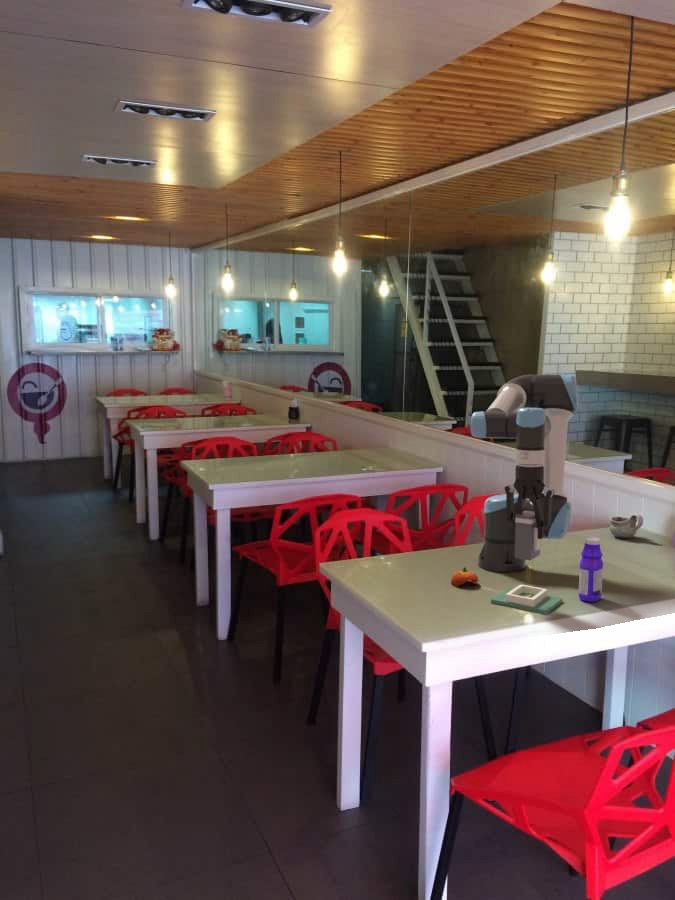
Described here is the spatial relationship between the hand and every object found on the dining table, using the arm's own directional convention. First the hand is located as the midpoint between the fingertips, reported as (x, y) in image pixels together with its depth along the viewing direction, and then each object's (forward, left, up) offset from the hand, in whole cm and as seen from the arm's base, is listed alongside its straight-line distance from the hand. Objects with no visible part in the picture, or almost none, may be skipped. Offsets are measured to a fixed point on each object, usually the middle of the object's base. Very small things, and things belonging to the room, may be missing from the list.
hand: (527, 548), depth 200 cm
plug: (0, 0, -2) cm, 2 cm away
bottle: (+14, +13, -16) cm, 24 cm away
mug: (+4, +88, -16) cm, 90 cm away
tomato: (-21, +5, -16) cm, 27 cm away
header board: (0, 0, -15) cm, 15 cm away
